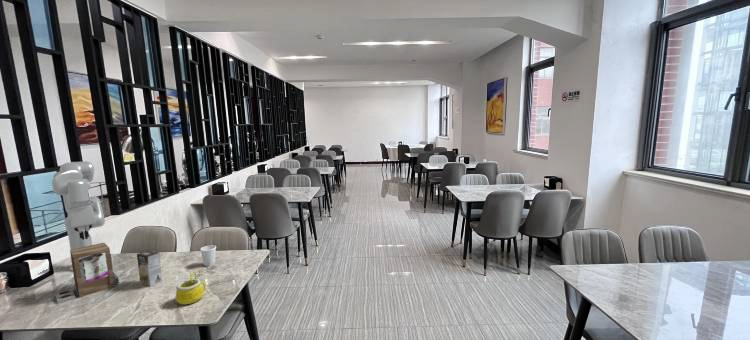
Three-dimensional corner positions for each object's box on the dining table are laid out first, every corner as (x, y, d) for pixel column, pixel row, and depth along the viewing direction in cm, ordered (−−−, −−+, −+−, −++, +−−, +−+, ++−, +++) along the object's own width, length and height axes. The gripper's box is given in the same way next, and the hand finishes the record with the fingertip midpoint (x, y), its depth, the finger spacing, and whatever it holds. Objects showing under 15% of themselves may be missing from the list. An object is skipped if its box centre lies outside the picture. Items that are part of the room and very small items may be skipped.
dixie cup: (220, 263, 190) (219, 246, 188) (206, 268, 183) (205, 251, 182) (212, 260, 194) (211, 244, 193) (198, 265, 187) (197, 248, 186)
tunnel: (75, 289, 162) (69, 249, 159) (109, 280, 172) (104, 242, 169) (79, 297, 153) (73, 255, 151) (114, 287, 163) (109, 247, 161)
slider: (72, 284, 167) (68, 261, 166) (111, 273, 179) (109, 252, 178) (77, 295, 154) (74, 271, 153) (119, 283, 166) (117, 260, 165)
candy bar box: (103, 282, 168) (98, 252, 166) (110, 283, 167) (106, 252, 165) (79, 292, 158) (74, 260, 156) (87, 293, 157) (83, 261, 155)
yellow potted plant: (184, 308, 140) (182, 282, 139) (171, 302, 146) (169, 277, 144) (212, 295, 151) (210, 271, 149) (199, 290, 157) (197, 266, 155)
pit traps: (55, 295, 156) (54, 293, 156) (72, 290, 160) (71, 288, 160) (57, 303, 148) (57, 301, 148) (75, 298, 152) (75, 295, 152)
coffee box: (139, 283, 166) (135, 253, 164) (152, 278, 172) (149, 249, 170) (150, 286, 162) (146, 256, 160) (163, 281, 168) (159, 251, 166)
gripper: (97, 200, 174) (102, 233, 176) (58, 206, 163) (63, 241, 165) (100, 202, 169) (104, 236, 171) (60, 208, 158) (65, 244, 160)
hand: (84, 238), depth 168 cm, fingers closed
